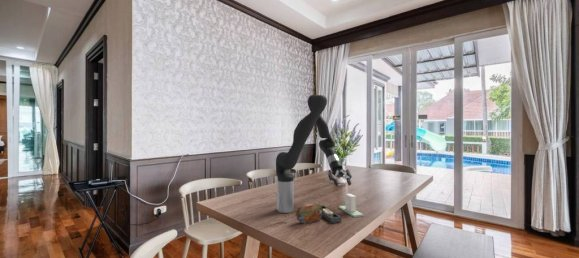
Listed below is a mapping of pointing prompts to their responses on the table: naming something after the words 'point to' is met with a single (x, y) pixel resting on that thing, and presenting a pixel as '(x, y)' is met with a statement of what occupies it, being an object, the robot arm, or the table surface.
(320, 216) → the tin
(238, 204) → the table surface
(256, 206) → the table surface
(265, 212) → the table surface
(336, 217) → the frame
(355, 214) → the board
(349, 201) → the white rectangular block
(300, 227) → the table surface
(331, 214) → the offcut stack
